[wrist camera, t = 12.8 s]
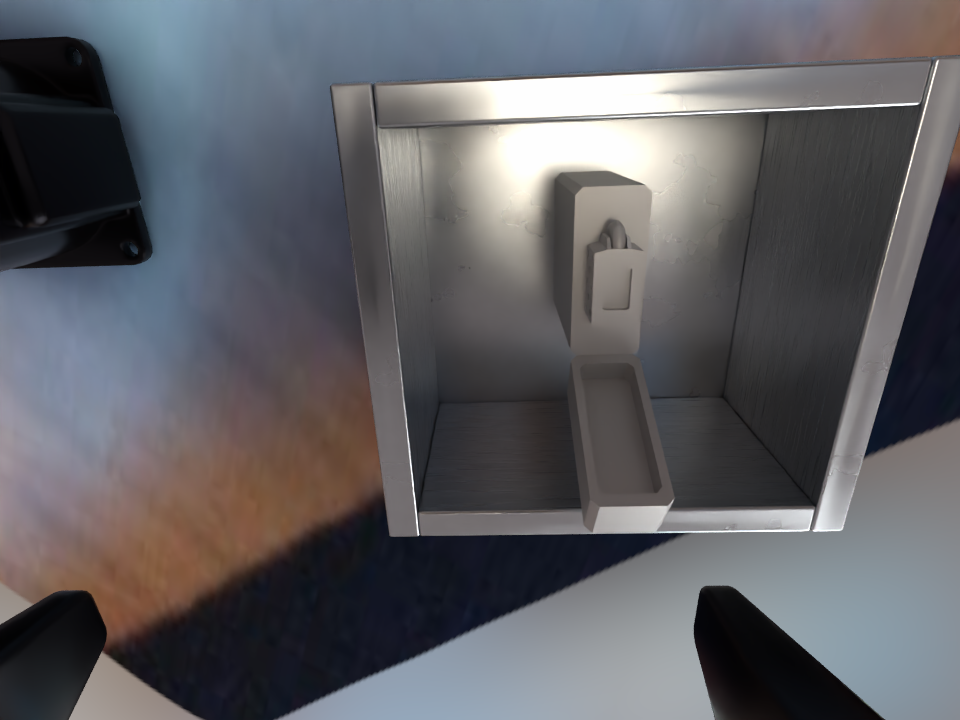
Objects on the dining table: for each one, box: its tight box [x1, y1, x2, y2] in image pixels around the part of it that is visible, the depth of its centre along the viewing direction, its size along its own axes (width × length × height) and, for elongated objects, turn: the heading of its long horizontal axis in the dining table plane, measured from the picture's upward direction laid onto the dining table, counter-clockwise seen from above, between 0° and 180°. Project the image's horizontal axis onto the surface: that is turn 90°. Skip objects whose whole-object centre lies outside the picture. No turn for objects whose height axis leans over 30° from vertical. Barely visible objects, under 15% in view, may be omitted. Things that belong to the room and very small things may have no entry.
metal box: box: [330, 55, 960, 537], centre depth 15 cm, size 12×11×7 cm
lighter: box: [553, 171, 675, 533], centre depth 14 cm, size 7×2×8 cm, turn 2°
